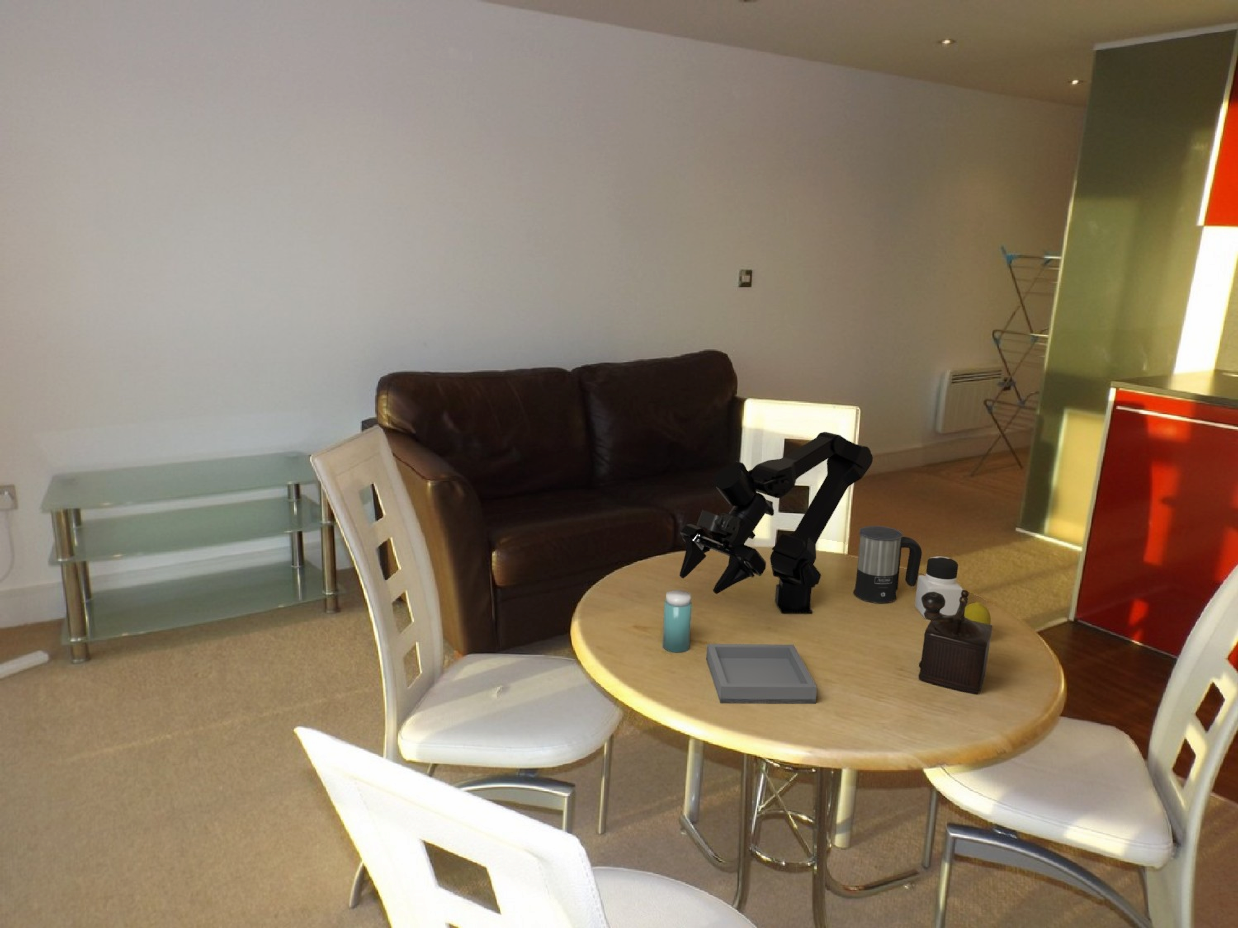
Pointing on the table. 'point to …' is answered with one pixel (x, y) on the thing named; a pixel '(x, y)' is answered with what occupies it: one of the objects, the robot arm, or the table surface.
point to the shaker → (677, 621)
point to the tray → (760, 674)
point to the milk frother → (884, 563)
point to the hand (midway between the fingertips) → (697, 584)
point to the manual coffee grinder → (953, 647)
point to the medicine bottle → (940, 584)
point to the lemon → (977, 613)
